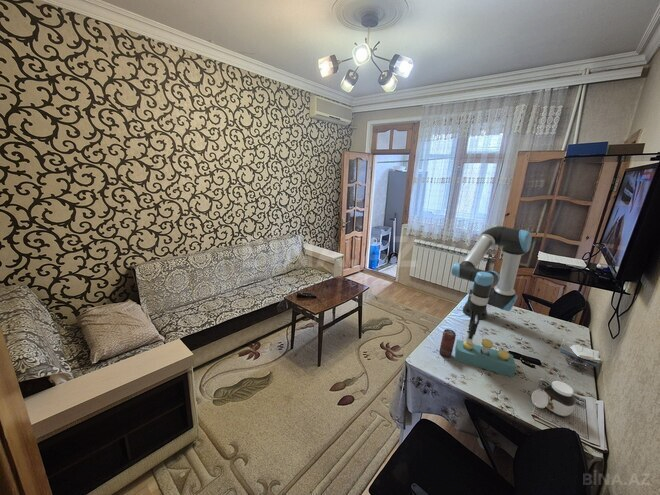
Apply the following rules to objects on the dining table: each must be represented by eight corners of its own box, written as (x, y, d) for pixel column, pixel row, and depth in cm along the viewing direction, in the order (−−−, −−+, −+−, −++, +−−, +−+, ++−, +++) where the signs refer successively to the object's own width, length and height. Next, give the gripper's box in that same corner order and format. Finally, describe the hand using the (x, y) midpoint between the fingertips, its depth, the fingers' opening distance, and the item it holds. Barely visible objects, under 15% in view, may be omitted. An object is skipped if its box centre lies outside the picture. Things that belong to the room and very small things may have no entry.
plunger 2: (494, 360, 138) (497, 348, 136) (505, 363, 137) (508, 351, 134) (495, 366, 134) (499, 354, 132) (506, 370, 132) (510, 357, 130)
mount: (455, 348, 148) (457, 339, 146) (509, 364, 138) (512, 354, 136) (455, 359, 139) (457, 350, 138) (513, 377, 129) (516, 367, 128)
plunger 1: (460, 350, 145) (463, 339, 142) (470, 353, 143) (473, 341, 140) (460, 356, 140) (463, 344, 138) (471, 359, 138) (474, 347, 136)
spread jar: (573, 416, 110) (582, 394, 107) (556, 424, 106) (565, 401, 103) (542, 393, 121) (550, 372, 117) (525, 400, 117) (533, 378, 113)
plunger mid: (478, 349, 140) (481, 337, 138) (489, 352, 139) (492, 340, 136) (479, 355, 136) (482, 343, 134) (490, 358, 134) (493, 345, 132)
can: (436, 352, 145) (440, 330, 140) (445, 349, 147) (449, 327, 143) (444, 359, 139) (449, 336, 135) (453, 356, 142) (458, 334, 138)
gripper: (469, 295, 139) (460, 334, 146) (470, 306, 128) (460, 347, 135) (485, 298, 136) (475, 338, 143) (488, 310, 125) (477, 352, 132)
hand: (468, 342), depth 139 cm, fingers closed
